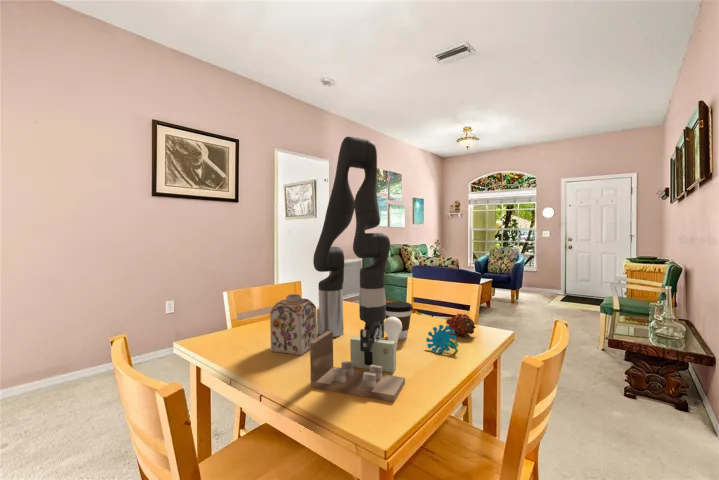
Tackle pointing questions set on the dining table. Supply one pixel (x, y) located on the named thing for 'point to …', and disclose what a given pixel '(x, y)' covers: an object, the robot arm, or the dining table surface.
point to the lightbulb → (393, 328)
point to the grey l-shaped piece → (349, 374)
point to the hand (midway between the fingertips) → (373, 359)
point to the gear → (442, 339)
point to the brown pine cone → (461, 324)
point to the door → (375, 354)
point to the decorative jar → (293, 325)
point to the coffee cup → (400, 315)
